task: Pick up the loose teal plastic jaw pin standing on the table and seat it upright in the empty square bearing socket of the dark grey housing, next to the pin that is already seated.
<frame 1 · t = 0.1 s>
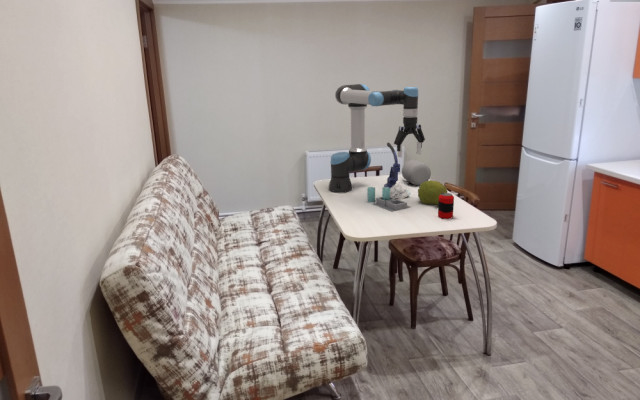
hand: (409, 155, 257), 28 cm above the table, fingers open, 13 cm apart
grey rounded lump: (410, 182, 313), on the table
jaw pin b: (371, 203, 269), on the table
soda can: (445, 217, 243), on the table
fruit: (431, 204, 264), on the table
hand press: (391, 188, 299), on the table
housing: (391, 207, 261), on the table
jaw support: (399, 198, 277), on the table
jaw pin a: (386, 203, 264), point 1 cm above the table, touching housing
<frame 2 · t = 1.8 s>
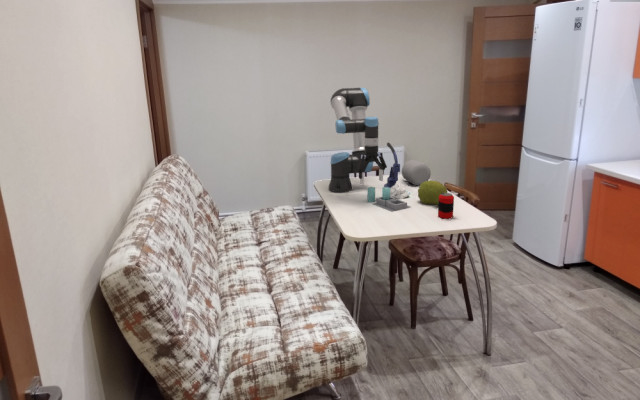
hand: (371, 182, 266), 12 cm above the table, fingers open, 13 cm apart
nothing on the table moved.
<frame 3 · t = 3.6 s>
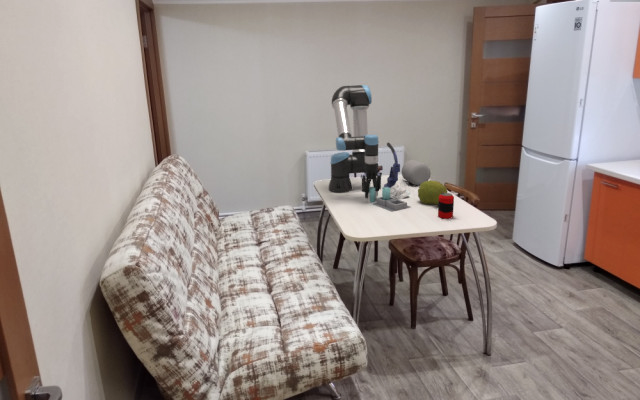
hand: (371, 202, 269), 0 cm above the table, fingers closed on jaw pin b, 4 cm apart
jaw pin b: (371, 202, 269), on the table, touching gripper
everything else where it was.
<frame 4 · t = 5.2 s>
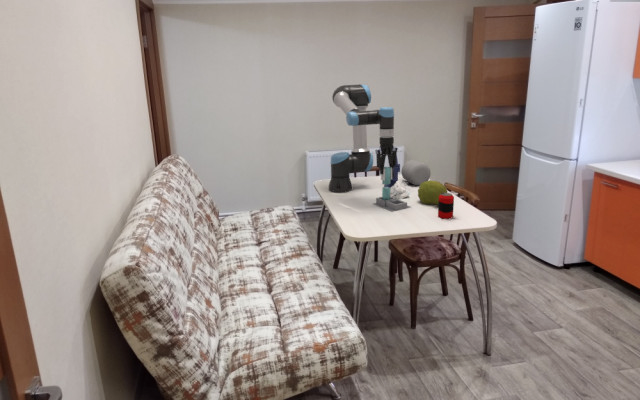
hand: (386, 179, 257), 16 cm above the table, fingers closed on jaw pin b, 4 cm apart
jaw pin b: (386, 183, 257), point 14 cm above the table, touching gripper
everything else where it was.
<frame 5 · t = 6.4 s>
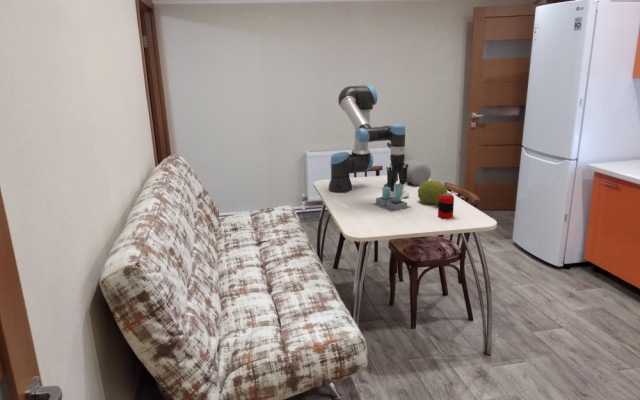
hand: (396, 196, 255), 7 cm above the table, fingers closed on jaw pin b, 4 cm apart
jaw pin b: (396, 200, 256), point 5 cm above the table, touching gripper
when the fingers open (5 cm above the table, at t = 7.1 s): jaw pin b stays where it is, resting on housing.
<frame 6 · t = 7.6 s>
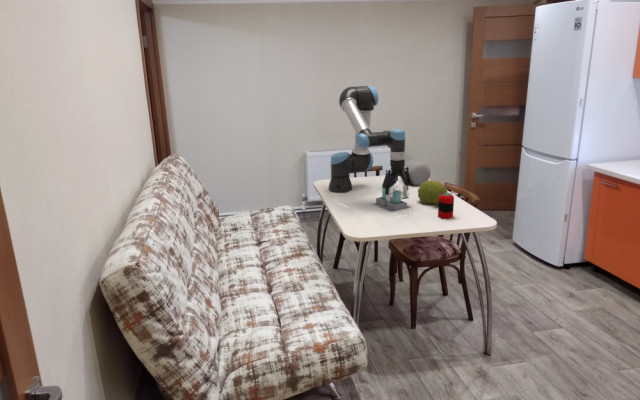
hand: (396, 198, 255), 6 cm above the table, fingers open, 11 cm apart
jaw pin b: (396, 207, 257), point 1 cm above the table, touching housing
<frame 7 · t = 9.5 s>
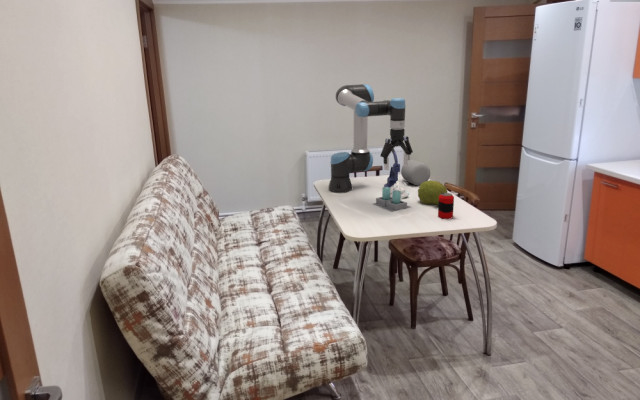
hand: (396, 168, 252), 23 cm above the table, fingers open, 13 cm apart
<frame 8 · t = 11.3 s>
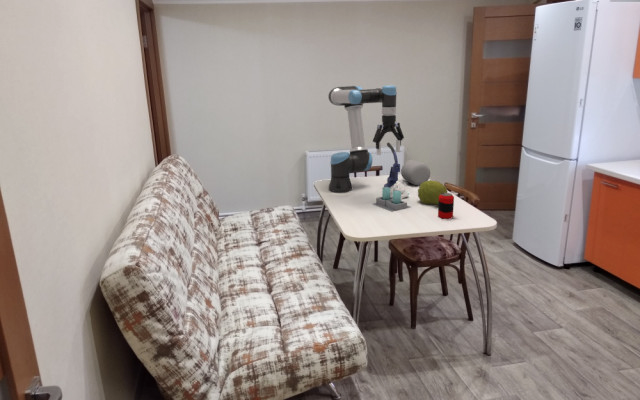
hand: (388, 153, 261), 29 cm above the table, fingers open, 13 cm apart
at the end: jaw pin b 0.1 cm from the target spot on the housing, point 1.0 cm above the housing's base; jaw pin b tilted 1°; the gripper is holding nothing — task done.
